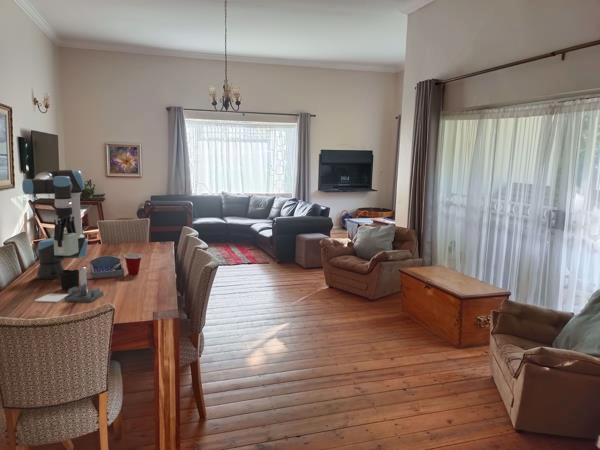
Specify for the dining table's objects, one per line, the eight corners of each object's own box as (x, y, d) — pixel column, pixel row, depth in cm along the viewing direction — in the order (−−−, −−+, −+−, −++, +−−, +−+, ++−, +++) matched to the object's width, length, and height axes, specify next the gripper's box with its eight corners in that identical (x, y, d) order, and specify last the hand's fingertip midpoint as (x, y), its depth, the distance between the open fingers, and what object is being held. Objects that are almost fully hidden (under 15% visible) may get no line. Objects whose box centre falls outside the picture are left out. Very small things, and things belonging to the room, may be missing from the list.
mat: (34, 301, 221) (34, 300, 221) (49, 294, 233) (49, 293, 233) (57, 302, 220) (57, 301, 220) (71, 295, 232) (71, 294, 232)
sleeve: (54, 255, 220) (53, 235, 219) (63, 251, 228) (62, 232, 227) (69, 255, 220) (68, 236, 218) (78, 252, 228) (77, 233, 226)
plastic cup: (136, 276, 271) (136, 257, 269) (121, 275, 273) (120, 256, 271) (146, 272, 281) (145, 253, 280) (131, 271, 283) (130, 253, 282)
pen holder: (67, 291, 238) (65, 273, 236) (57, 289, 243) (56, 271, 241) (83, 287, 246) (82, 270, 244) (73, 285, 251) (72, 268, 249)
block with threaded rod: (64, 300, 223) (62, 270, 220) (78, 293, 235) (76, 264, 232) (90, 301, 222) (89, 271, 219) (103, 294, 233) (101, 265, 231)
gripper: (58, 209, 210) (61, 256, 214) (82, 205, 231) (84, 247, 234) (43, 209, 210) (46, 255, 214) (68, 204, 231) (71, 247, 234)
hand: (66, 251), depth 224 cm, fingers closed on sleeve, 8 cm apart
